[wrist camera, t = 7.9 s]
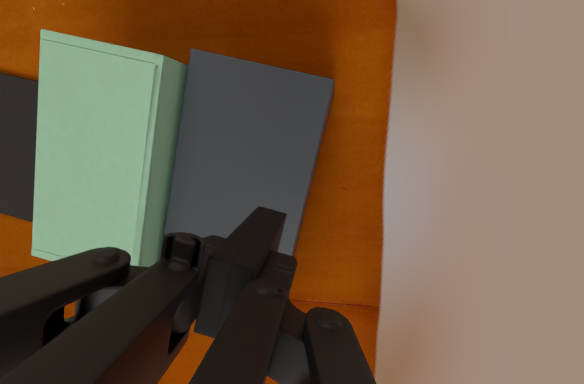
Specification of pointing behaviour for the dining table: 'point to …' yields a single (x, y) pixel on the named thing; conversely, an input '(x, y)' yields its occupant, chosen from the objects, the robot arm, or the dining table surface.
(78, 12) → the dining table surface
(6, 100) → the mat
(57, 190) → the open box
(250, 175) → the block
